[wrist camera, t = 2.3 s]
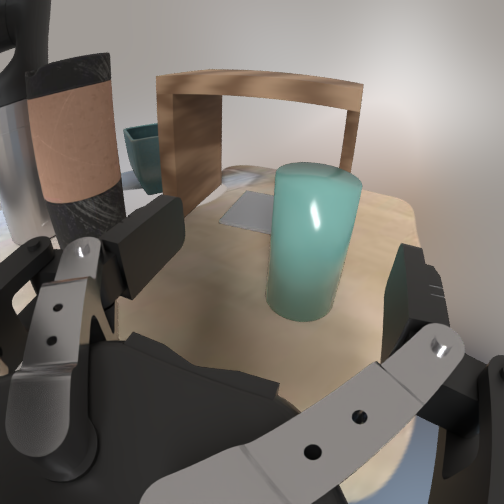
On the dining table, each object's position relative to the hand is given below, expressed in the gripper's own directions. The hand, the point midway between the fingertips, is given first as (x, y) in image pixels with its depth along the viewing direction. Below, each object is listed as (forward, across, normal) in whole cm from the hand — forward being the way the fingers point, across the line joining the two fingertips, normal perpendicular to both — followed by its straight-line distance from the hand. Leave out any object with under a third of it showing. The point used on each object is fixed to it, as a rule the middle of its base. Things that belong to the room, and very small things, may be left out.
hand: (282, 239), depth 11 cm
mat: (+24, +7, +12) cm, 28 cm away
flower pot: (+26, +24, +12) cm, 38 cm away
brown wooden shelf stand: (+24, +8, +12) cm, 29 cm away
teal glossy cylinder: (+12, 0, +13) cm, 17 cm away
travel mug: (+8, +20, +13) cm, 25 cm away
